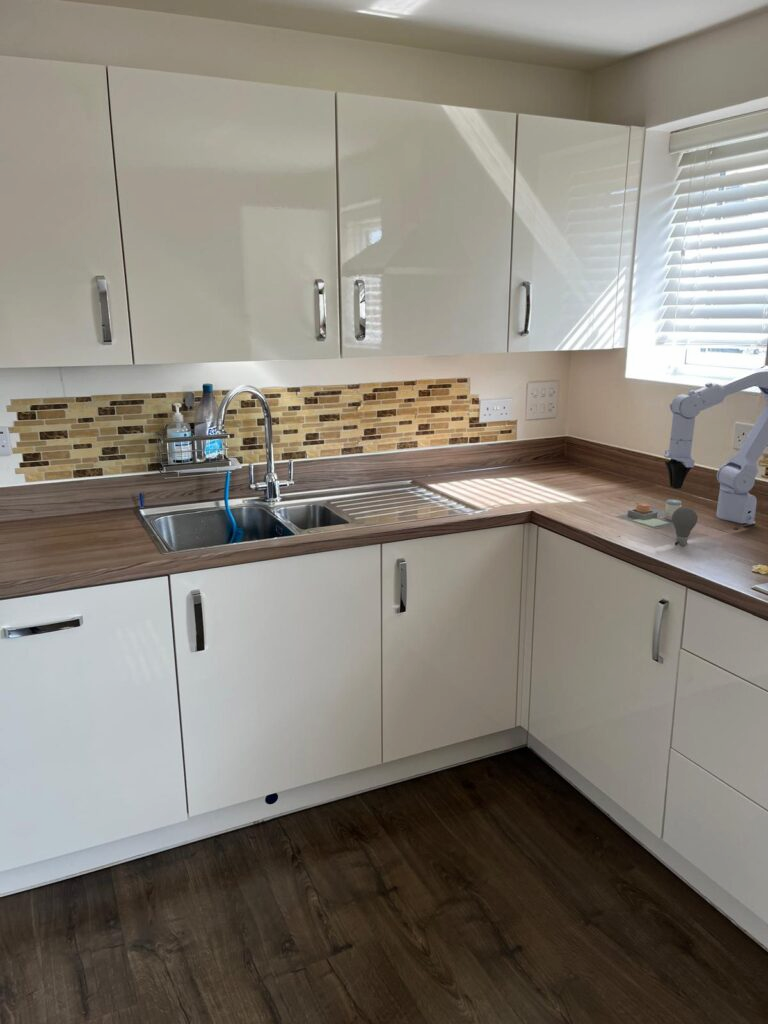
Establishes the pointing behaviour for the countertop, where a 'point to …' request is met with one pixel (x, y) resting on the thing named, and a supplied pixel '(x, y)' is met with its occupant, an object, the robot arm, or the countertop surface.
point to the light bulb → (684, 523)
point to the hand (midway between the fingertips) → (675, 487)
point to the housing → (648, 518)
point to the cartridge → (671, 508)
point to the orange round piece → (643, 508)
